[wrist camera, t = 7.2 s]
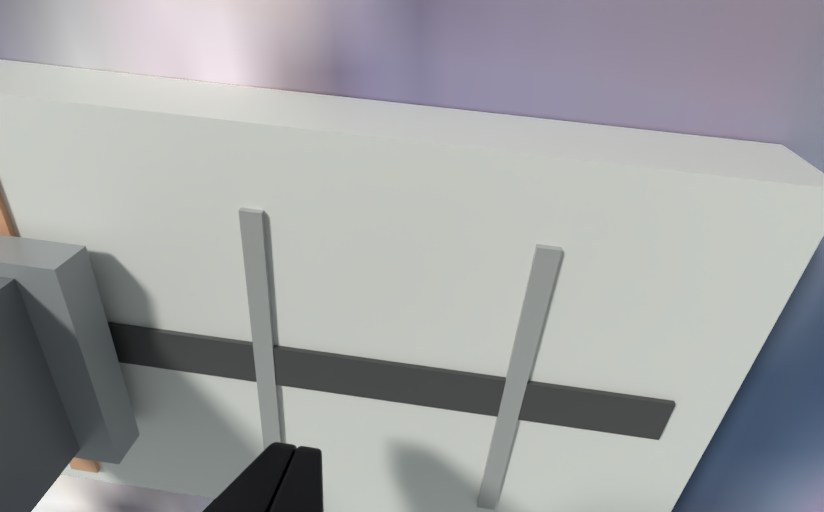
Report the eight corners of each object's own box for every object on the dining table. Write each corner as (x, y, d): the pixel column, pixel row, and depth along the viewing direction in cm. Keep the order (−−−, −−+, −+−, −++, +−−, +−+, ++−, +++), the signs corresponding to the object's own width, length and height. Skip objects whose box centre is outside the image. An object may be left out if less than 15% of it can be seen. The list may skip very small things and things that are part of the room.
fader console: (782, 145, 9) (853, 194, 8) (622, 493, 15) (641, 571, 13) (-250, 32, 11) (-401, 51, 9) (-57, 390, 16) (-127, 449, 14)
